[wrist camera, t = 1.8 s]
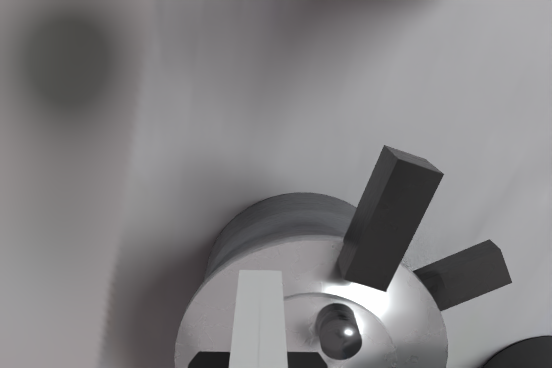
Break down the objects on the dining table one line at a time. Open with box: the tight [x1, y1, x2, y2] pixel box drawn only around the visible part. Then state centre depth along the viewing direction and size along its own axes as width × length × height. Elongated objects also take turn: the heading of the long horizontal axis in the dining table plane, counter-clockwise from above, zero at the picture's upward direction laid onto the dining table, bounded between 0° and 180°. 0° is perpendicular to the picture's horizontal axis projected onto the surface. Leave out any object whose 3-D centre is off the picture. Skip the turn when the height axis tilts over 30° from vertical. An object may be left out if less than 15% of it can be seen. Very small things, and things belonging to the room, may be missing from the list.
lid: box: [174, 145, 448, 368], centre depth 30 cm, size 28×20×4 cm
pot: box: [203, 193, 512, 311], centre depth 37 cm, size 26×19×10 cm
